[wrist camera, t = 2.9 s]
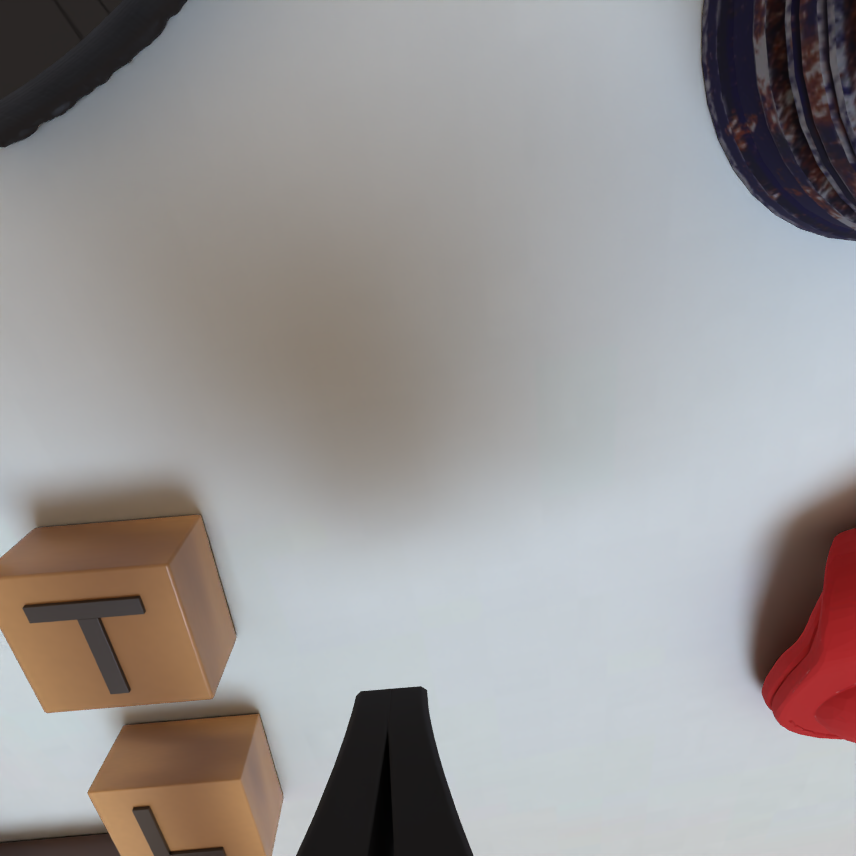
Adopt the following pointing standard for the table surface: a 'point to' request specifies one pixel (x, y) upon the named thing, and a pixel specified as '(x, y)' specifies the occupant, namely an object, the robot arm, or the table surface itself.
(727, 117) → the dark blue barrel
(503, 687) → the table surface
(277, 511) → the table surface
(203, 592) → the t tile
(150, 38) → the dark sector wedge
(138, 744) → the l tile
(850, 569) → the tracker holder
